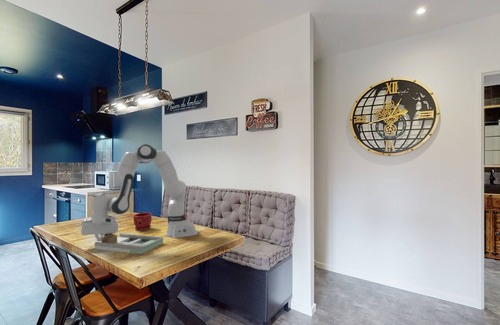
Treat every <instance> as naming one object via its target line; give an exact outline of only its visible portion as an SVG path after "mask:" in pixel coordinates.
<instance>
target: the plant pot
mask: <svg viewBox="0 0 500 325" xmlns="http://www.w3.org/2000/svg"><path fill="white" fill-rule="evenodd" d="M133 222H134V223H133V224H134V226H135V227H134V228H135V230H136V231H147V230H149V229H150V228H151V227H152V225H151V223H152V213H151V212H139V213H135V214H134V215H133Z"/></svg>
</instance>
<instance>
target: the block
mask: <svg viewBox="0 0 500 325" xmlns="http://www.w3.org/2000/svg"><path fill="white" fill-rule="evenodd" d="M117 237H118V236H117V235H106V236H104V237H103V238H101V237H100V238H101V241H100V242H103V243H112V244H114V243H117Z"/></svg>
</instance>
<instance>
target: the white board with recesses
mask: <svg viewBox="0 0 500 325" xmlns="http://www.w3.org/2000/svg"><path fill="white" fill-rule="evenodd" d="M118 235H119V236H117V243H114V244H112V243H103V242H101V241H95V242H94V249H95V250H100V251H101V250H102V251H112V252H119V253H128V254H131V253H130V250H139V251H142V247H141V246H139V245H141V244H143V243H145V242H148V241H150V240H158V239H160V238H162V240H163V241H164V237H163V236H157V235H156V236H154V235H143V234H134V233H133V234H132V233H131V234H130V233H123V232H122V233H119V234H118Z"/></svg>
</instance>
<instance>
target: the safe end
mask: <svg viewBox="0 0 500 325" xmlns="http://www.w3.org/2000/svg"><path fill="white" fill-rule="evenodd" d="M162 244H164V239H163V240H162V238H160V239H158V240H150V241H148V242H145V243H143V244H141V245H139V246H141V247H142V251H139V250H130V253H129V254H137V255H142V254H143V255H144V254H145V253H146V252H149V251H150V250H153V249H155V248H156V247H159V246H162Z"/></svg>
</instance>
